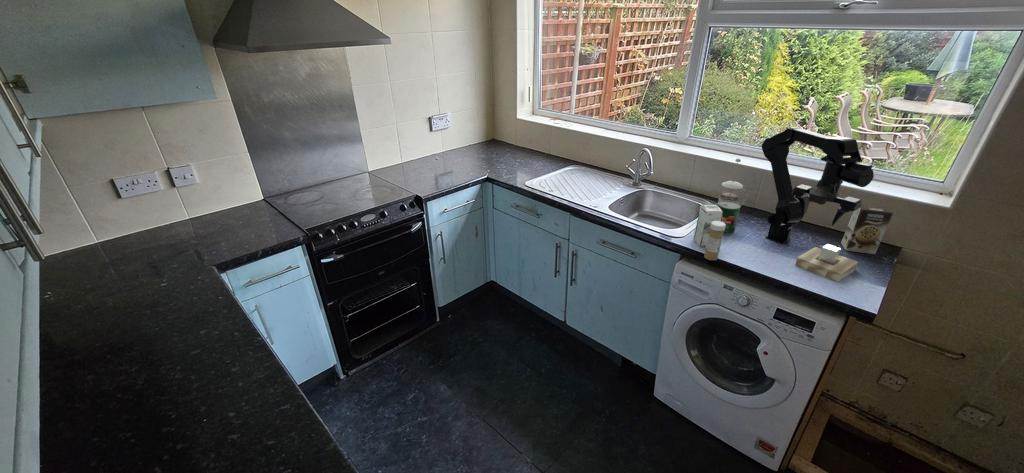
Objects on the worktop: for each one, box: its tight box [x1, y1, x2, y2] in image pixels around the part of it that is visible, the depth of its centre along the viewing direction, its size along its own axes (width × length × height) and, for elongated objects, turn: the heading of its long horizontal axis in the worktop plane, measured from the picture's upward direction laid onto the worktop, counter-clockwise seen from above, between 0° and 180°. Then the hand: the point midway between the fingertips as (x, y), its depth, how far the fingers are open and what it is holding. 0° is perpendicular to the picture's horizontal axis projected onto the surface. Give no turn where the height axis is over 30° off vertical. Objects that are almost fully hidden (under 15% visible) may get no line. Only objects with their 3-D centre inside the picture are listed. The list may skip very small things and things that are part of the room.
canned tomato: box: [717, 200, 742, 236], centre depth 169 cm, size 8×8×11 cm
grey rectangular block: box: [818, 243, 842, 266], centre depth 143 cm, size 4×4×7 cm
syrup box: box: [693, 204, 723, 247], centre depth 158 cm, size 6×6×14 cm
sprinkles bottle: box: [703, 221, 726, 261], centre depth 149 cm, size 5×5×13 cm
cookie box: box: [840, 203, 893, 255], centre depth 153 cm, size 9×6×16 cm
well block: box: [794, 246, 859, 283], centre depth 145 cm, size 13×13×3 cm
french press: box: [716, 158, 749, 206], centre depth 178 cm, size 10×12×25 cm
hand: (817, 220), depth 148 cm, fingers open, 9 cm apart
